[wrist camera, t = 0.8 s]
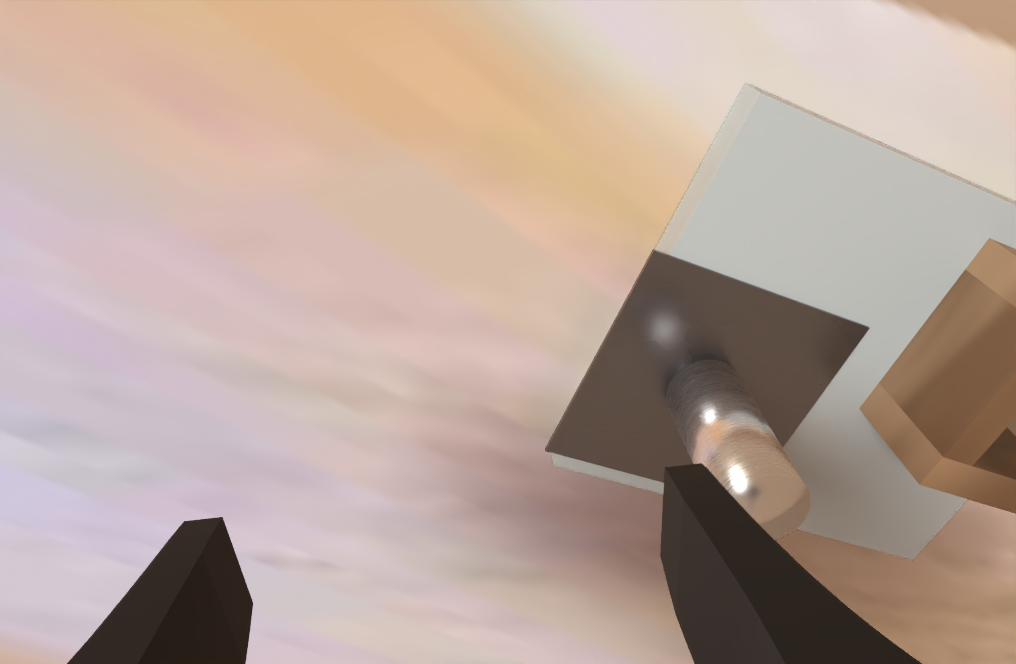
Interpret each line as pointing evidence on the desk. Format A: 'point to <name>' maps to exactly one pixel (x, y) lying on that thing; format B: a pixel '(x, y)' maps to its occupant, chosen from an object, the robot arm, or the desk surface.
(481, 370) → the desk surface
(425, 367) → the desk surface
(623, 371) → the post
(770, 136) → the board
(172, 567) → the robot arm
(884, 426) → the collar
